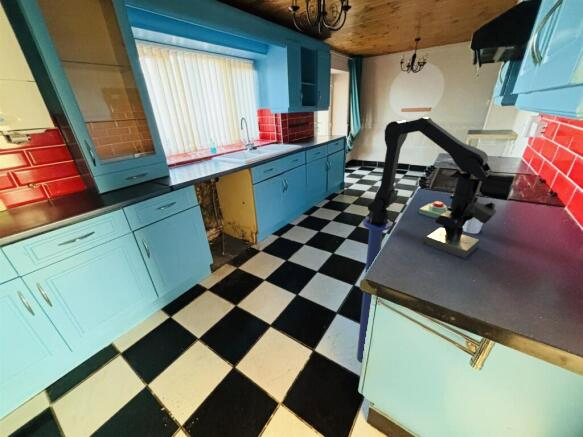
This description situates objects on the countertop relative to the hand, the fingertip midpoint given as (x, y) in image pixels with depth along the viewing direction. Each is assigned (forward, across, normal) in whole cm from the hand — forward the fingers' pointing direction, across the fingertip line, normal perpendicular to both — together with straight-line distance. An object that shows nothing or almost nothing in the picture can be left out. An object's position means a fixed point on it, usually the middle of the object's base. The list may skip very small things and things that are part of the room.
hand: (452, 236), depth 80 cm
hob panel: (+4, 0, 0) cm, 4 cm away
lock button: (0, +23, +15) cm, 27 cm away
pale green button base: (+4, +23, +15) cm, 28 cm away
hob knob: (0, 0, 0) cm, 0 cm away
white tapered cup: (+4, +17, 0) cm, 17 cm away
